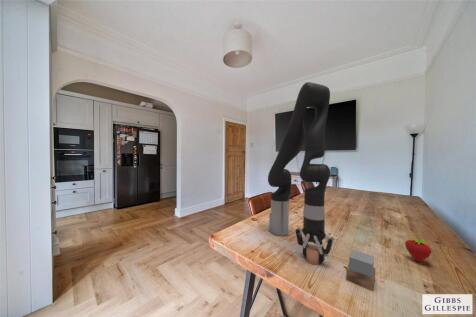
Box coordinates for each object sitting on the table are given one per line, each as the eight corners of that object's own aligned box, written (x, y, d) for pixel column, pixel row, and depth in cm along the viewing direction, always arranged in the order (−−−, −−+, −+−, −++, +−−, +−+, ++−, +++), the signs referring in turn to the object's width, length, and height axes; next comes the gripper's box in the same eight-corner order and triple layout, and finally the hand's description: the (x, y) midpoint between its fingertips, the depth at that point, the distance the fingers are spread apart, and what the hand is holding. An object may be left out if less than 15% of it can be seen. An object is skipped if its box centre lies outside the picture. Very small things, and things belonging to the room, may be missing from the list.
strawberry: (411, 255, 73) (412, 230, 73) (435, 266, 65) (436, 239, 65) (400, 256, 71) (401, 232, 71) (423, 268, 64) (424, 241, 64)
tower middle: (349, 269, 57) (349, 257, 57) (352, 260, 62) (352, 249, 62) (372, 277, 54) (372, 264, 53) (373, 268, 58) (373, 256, 58)
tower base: (346, 280, 58) (346, 268, 58) (350, 270, 63) (350, 259, 63) (373, 292, 53) (373, 278, 53) (375, 279, 58) (375, 267, 58)
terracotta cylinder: (304, 260, 68) (304, 247, 68) (308, 255, 72) (309, 243, 72) (317, 266, 65) (318, 252, 65) (322, 260, 68) (322, 247, 68)
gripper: (337, 217, 66) (336, 263, 66) (299, 209, 75) (298, 249, 76) (331, 223, 60) (330, 272, 61) (291, 213, 70) (291, 256, 70)
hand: (313, 259), depth 68 cm, fingers closed on terracotta cylinder, 5 cm apart
